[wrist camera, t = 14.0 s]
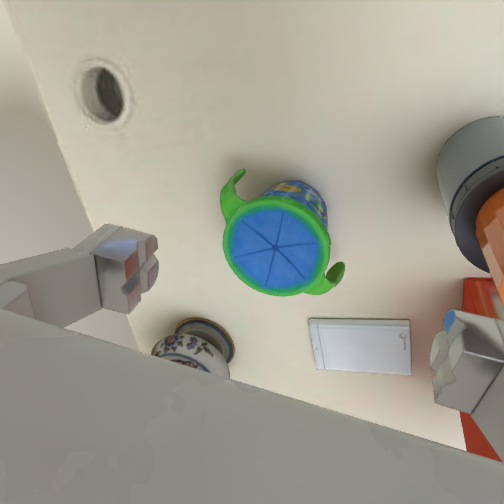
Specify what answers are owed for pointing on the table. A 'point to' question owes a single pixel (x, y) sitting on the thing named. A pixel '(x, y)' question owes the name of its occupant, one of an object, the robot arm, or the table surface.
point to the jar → (468, 156)
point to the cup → (493, 238)
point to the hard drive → (362, 345)
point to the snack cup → (279, 239)
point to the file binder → (489, 305)
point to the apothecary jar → (198, 347)
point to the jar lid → (475, 209)
